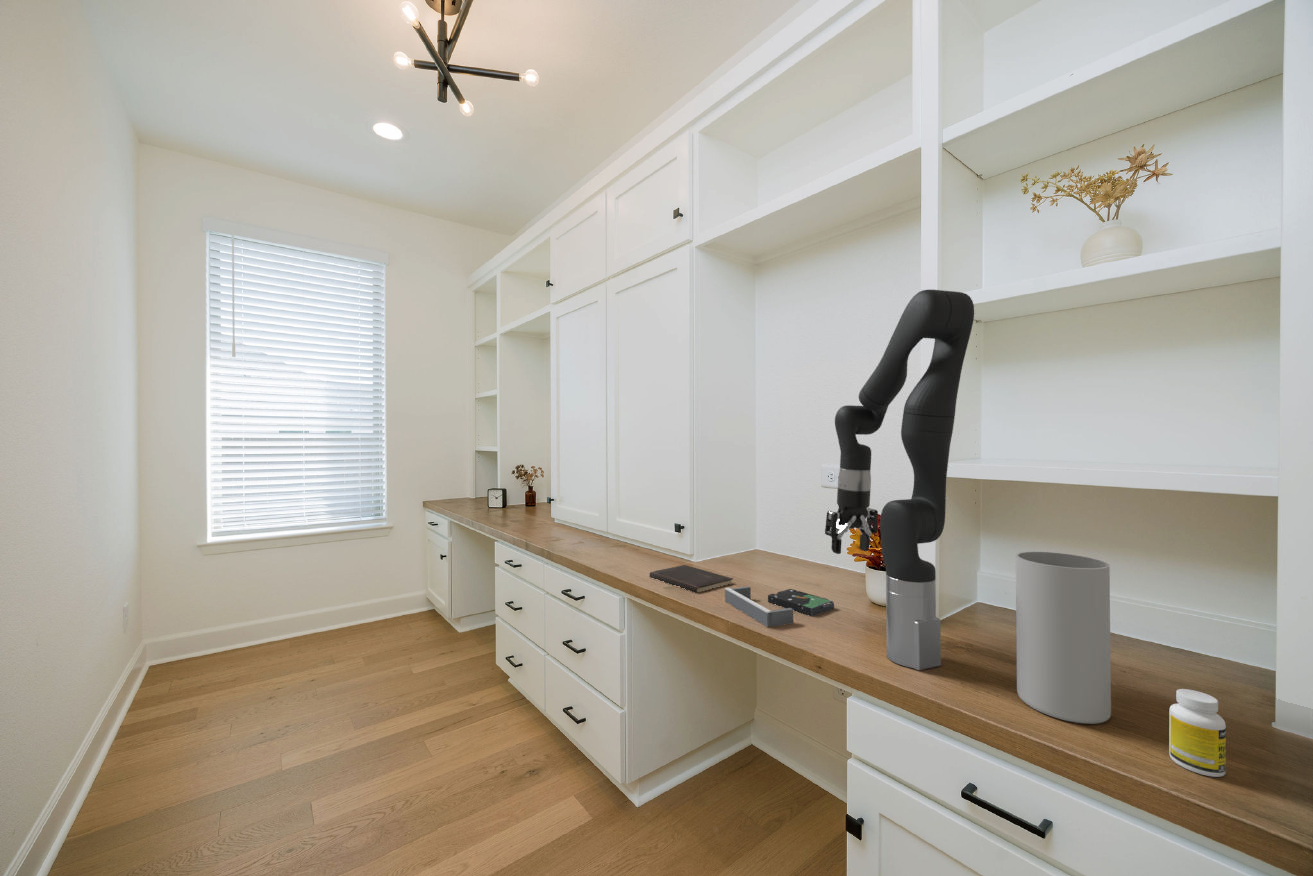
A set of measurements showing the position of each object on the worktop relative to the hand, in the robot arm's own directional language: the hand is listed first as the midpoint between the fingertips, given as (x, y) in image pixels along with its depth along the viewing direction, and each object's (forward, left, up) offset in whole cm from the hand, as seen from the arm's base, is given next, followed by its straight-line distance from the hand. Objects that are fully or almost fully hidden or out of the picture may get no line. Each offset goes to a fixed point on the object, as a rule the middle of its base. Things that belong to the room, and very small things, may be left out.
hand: (850, 551), depth 124 cm
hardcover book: (+51, +21, -19) cm, 58 cm away
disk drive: (+17, +3, -19) cm, 25 cm away
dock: (+17, +17, -18) cm, 30 cm away
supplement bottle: (-60, -6, -18) cm, 63 cm away
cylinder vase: (-43, -6, -18) cm, 47 cm away
